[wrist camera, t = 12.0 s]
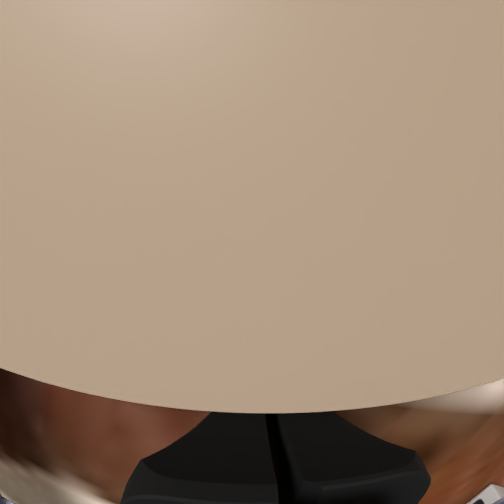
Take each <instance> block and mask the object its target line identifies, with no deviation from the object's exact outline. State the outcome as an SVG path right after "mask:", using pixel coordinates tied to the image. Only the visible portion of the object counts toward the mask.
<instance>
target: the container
mask: <svg viewBox="0 0 504 504" xmlns="http://www.w3.org/2000/svg"><path fill="white" fill-rule="evenodd" d="M503 497H504V487H501V486H498V485H494V484H489V485H488V486H487V487H486V488H485V489H483V490H482V491H481V492H480V493H479V494H477V495H476V496H475V497H474V498H472V499H471V500H470V501H469V502H467V503H466V504H492V503H494V502H496V501H498V500H499V499H501V498H503Z"/></svg>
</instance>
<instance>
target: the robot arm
mask: <svg viewBox="0 0 504 504" xmlns="http://www.w3.org/2000/svg"><path fill="white" fill-rule="evenodd" d="M430 482H431V477H430V476H429V474H428V472H427V470H426V468H425V466H424V464H423V462H422V460H421V459H420V457H419V456H418V455H417V453H416V452H415V451H413V450H410V449H407V448H404V447H401V446H398V445H395V444H392V443H389V442H386V441H384V440H381V439H379V438H377V437H375V436H373V435H370V434H368V433H366V432H364V431H363V430H361V429H359V428H357V427H356V426H354V425H352V424H351V423H349V422H347V421H346V420H344V419H343V418H341V417H340V416H338V415H337V414H336V413H334V412H333V411H324V412H306V413H233V412H214V411H212V412H211V413H210V414H209V415H208V416H207V417H206V418H205V419H203V420H202V421H201V422H200V423H199V424H198V425H197V426H196V427H195V428H193V429H192V430H191V431H190V432H188V433H187V434H185V435H184V436H183V437H181V438H180V439H178V440H177V441H175V442H174V443H172V444H171V445H169V446H168V447H166V448H164V449H162V450H160V451H158V452H156V453H154V454H152V455H150V456H148V457H146V458H144V459H141V460H140V462H139V463H138V465H137V466H136V468H135V470H134V471H133V473H132V475H131V477H130V478H129V480H128V482H127V484H126V487H125V490H124V493H123V496H122V499H121V503H120V504H418V502H419V501H420V500H421V498H422V497H423V496H424V494H425V493H426V491H427V489H428V487H429V486H430ZM0 504H14V503H13V502H11V501H9V500H7V499H6V498H4V497H2V496H1V494H0ZM492 504H504V497H503V498H501V499H499V500H498V501H496V502H494V503H492Z"/></svg>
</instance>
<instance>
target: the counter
mask: <svg viewBox="0 0 504 504" xmlns="http://www.w3.org/2000/svg"><path fill="white" fill-rule="evenodd" d="M0 368H2V369H5V370H8V371H10V372H13V373H16V374H19V375H22V376H25V377H28V378H32V379H35V380H38V381H42V382H45V383H48V384H52V385H56V386H59V387H63V388H67V389H71V390H75V391H79V392H83V393H88V394H92V395H97V396H102V397H107V398H112V399H117V400H123V401H128V402H134V403H141V404H147V405H154V406H162V407H170V408H179V409H189V410H200V411H214V412H233V413H306V412H324V411H338V410H349V409H359V408H368V407H376V406H383V405H390V404H397V403H403V402H409V401H415V400H420V399H425V398H430V397H435V396H440V395H444V394H449V393H453V392H457V391H461V390H465V389H469V388H473V387H477V386H480V385H484V384H487V383H490V382H494V381H497V380H500V379H503V378H504V0H0Z"/></svg>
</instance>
